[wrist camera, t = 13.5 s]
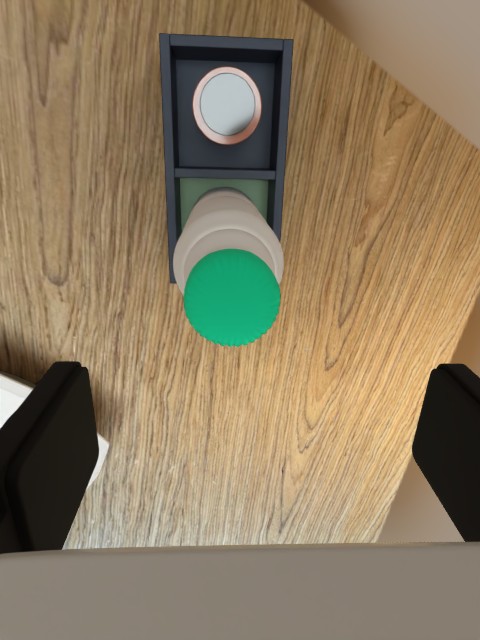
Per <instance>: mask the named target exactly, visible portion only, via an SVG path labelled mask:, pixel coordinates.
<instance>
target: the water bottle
mask: <svg viewBox="0 0 480 640" xmlns="http://www.w3.org/2000/svg"><path fill="white" fill-rule="evenodd" d="M283 268H284V259H283V252H282V248H281V245H280V242H279V240H278V238H277V236H276V235H275V233H274V232H273V230H272V229H271V228H270V227H269V226H268V224H267V222H266V221H265V219H264V218H263V216H262V215H261V214H260V213H259V211H258V209H257V208H256V206H255V205H254V203H253V202H252V200H251V199H250V198H249V197H248V196H247V195H246V194H245V193H243V192H241V191H240V190H238V189H235V188H231V187H217V188H213V189H211V190H209V191H207V192H205V193H204V194H203V195H201V196H200V197H199V198H198V200H197V201H196V202H195V204H194V206H193V208H192V211H191V213H190V216H189V219H188V220H187V222H186V224H185V227H184V229H183V232H182V234H181V236H180V238H179V240H178V242H177V244H176V247H175V251H174V257H173V270H174V276H175V279H176V282H177V285H178V287H179V289H180V291H181V293H182V294H183V296H184V309H185V312H186V317H187V318H188V319H189V322H190V324H191V325H192V326H193V327H194V329H195V331H197V332H199V334H200V335H201V336H202V337H205V338H206V339H207V340H208V341H213V343H214V344H218V343H219V344H221V345H222V346H224V345H228V346H229V347H231V346H233V345H235V346H237V347H239V346H240V345H247V344H248V343H249V342H251V343H252V342H254V341H255V339H259V338H260V337H261V335H262V334H265V333H266V332H267V330H268V329H269V328H271V326H272V323H273V322H274V321H275V320H276V315H277V314H278V312H279V306H280V298H281V294H280V288H279V285H280V282H281V279H282V275H283Z"/></svg>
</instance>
